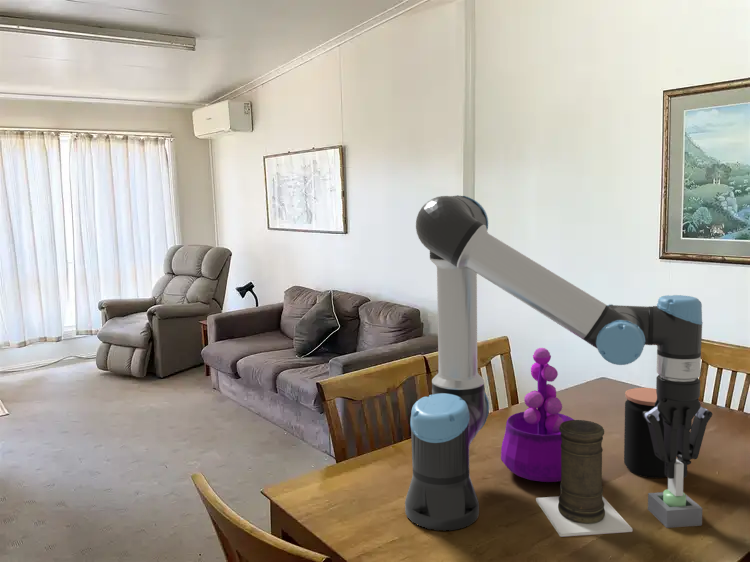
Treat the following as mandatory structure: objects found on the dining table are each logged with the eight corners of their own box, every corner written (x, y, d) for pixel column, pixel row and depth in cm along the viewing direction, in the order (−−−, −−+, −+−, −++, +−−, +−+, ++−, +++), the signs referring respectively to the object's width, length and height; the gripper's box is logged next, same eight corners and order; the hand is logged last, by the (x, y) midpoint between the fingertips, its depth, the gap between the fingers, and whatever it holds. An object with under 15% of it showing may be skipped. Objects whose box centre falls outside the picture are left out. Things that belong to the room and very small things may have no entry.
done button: (669, 521, 116) (670, 499, 115) (658, 510, 120) (659, 489, 119) (689, 519, 116) (690, 498, 115) (678, 509, 120) (678, 488, 119)
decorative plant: (491, 459, 147) (490, 341, 143) (564, 454, 149) (564, 336, 145) (516, 496, 128) (515, 361, 125) (599, 489, 130) (600, 355, 126)
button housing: (666, 527, 114) (667, 510, 114) (647, 509, 121) (648, 493, 121) (701, 525, 114) (702, 508, 114) (681, 507, 121) (681, 490, 121)
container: (600, 528, 113) (601, 438, 111) (552, 517, 118) (552, 430, 116) (609, 507, 121) (610, 422, 119) (564, 497, 126) (564, 415, 124)
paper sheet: (560, 536, 112) (560, 533, 112) (535, 500, 126) (535, 497, 126) (632, 531, 113) (632, 528, 113) (600, 496, 127) (600, 493, 127)
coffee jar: (680, 480, 133) (682, 402, 130) (629, 478, 135) (630, 401, 133) (666, 460, 143) (668, 388, 141) (619, 458, 145) (620, 386, 143)
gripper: (655, 384, 110) (653, 504, 113) (723, 380, 111) (719, 499, 114) (635, 372, 117) (633, 486, 120) (699, 369, 118) (695, 481, 121)
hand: (675, 492), depth 117 cm, fingers closed
